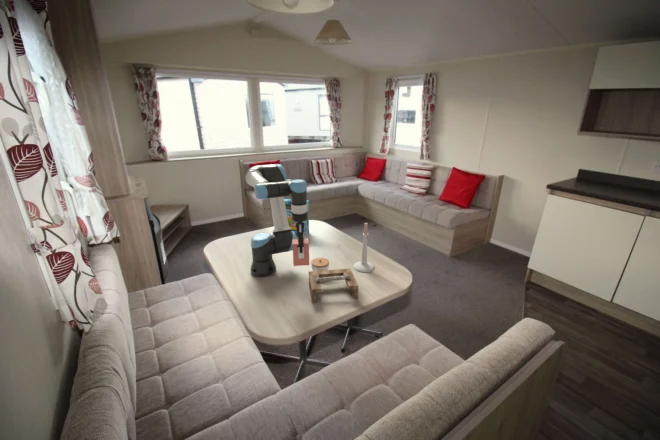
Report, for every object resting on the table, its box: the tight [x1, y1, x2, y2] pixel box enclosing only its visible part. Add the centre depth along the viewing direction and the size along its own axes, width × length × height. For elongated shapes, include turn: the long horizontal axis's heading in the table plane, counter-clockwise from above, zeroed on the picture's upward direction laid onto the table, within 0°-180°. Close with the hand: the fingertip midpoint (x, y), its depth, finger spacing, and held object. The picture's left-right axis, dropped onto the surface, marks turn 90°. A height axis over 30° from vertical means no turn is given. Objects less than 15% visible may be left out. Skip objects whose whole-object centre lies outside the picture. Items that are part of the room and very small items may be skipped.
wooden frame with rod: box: [308, 267, 359, 304], centre depth 165 cm, size 24×18×10 cm
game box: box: [284, 198, 310, 236], centre depth 237 cm, size 20×6×27 cm, turn 81°
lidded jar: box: [310, 257, 330, 271], centre depth 183 cm, size 11×11×9 cm
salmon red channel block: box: [292, 238, 310, 267], centre depth 155 cm, size 8×6×12 cm
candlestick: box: [353, 222, 375, 273], centre depth 186 cm, size 13×13×30 cm
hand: (301, 255), depth 155 cm, fingers closed on salmon red channel block, 6 cm apart
